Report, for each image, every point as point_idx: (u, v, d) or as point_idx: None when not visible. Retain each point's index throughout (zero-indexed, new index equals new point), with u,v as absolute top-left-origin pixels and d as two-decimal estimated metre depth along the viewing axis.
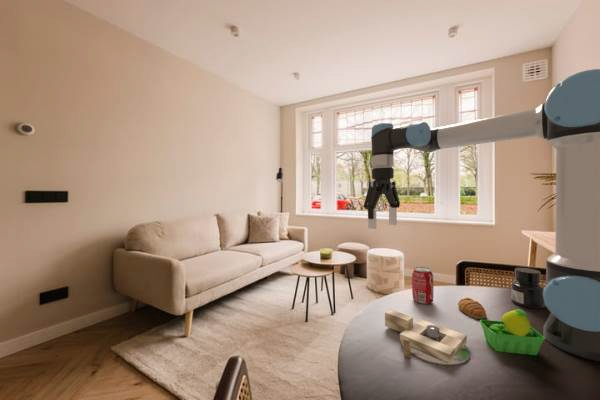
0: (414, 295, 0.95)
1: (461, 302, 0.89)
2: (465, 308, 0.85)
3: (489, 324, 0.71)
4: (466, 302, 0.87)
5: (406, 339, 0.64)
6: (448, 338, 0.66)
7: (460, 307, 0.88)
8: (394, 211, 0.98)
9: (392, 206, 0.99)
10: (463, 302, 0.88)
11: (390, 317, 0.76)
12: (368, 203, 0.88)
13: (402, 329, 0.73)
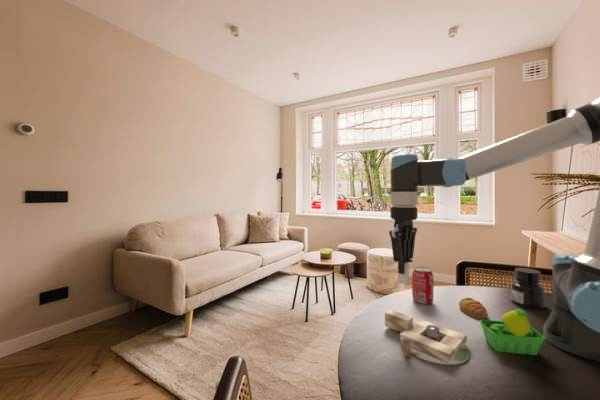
0: (414, 295, 0.95)
1: (462, 302, 0.89)
2: (467, 308, 0.85)
3: (489, 324, 0.71)
4: (467, 302, 0.87)
5: (406, 339, 0.64)
6: (448, 338, 0.66)
7: (461, 307, 0.88)
8: None
9: None
10: (464, 302, 0.88)
11: (390, 317, 0.76)
12: (398, 258, 0.77)
13: (402, 329, 0.73)
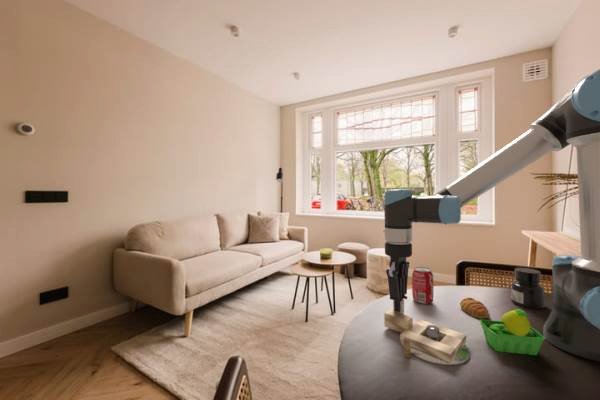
0: (414, 295, 0.95)
1: (463, 302, 0.89)
2: (468, 308, 0.85)
3: (489, 324, 0.71)
4: (469, 302, 0.87)
5: (406, 339, 0.64)
6: (448, 338, 0.66)
7: (463, 307, 0.88)
8: None
9: None
10: (465, 302, 0.88)
11: (390, 317, 0.75)
12: (395, 297, 0.74)
13: (402, 330, 0.73)
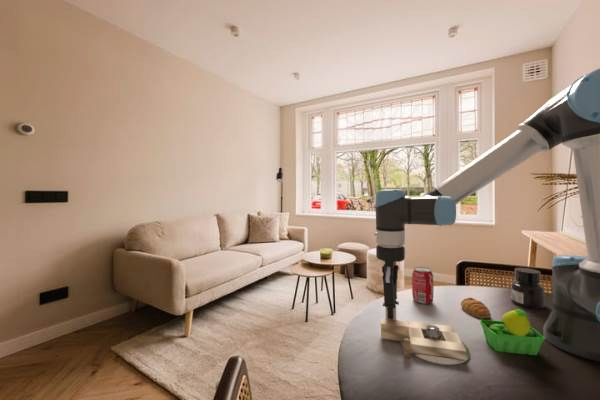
0: (414, 295, 0.95)
1: (464, 302, 0.89)
2: (469, 308, 0.85)
3: (489, 324, 0.71)
4: (470, 302, 0.87)
5: (406, 339, 0.64)
6: (446, 334, 0.68)
7: (463, 307, 0.88)
8: None
9: None
10: (466, 302, 0.88)
11: (388, 327, 0.70)
12: (390, 304, 0.70)
13: (402, 337, 0.69)
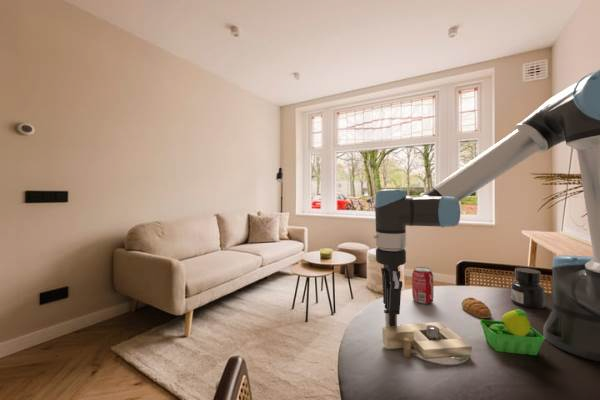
0: (414, 295, 0.95)
1: (465, 302, 0.89)
2: (470, 308, 0.85)
3: (489, 324, 0.71)
4: (471, 302, 0.87)
5: (406, 339, 0.64)
6: (443, 331, 0.69)
7: (464, 307, 0.88)
8: None
9: None
10: (467, 302, 0.88)
11: (394, 336, 0.66)
12: (396, 310, 0.66)
13: None
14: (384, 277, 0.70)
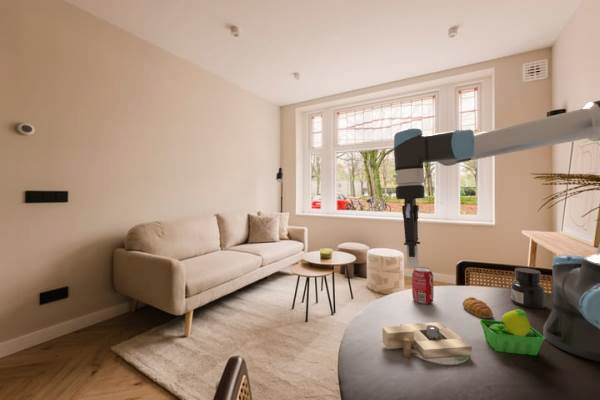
0: (414, 295, 0.95)
1: (466, 302, 0.89)
2: (472, 308, 0.86)
3: (489, 324, 0.71)
4: (472, 302, 0.87)
5: (406, 339, 0.64)
6: (443, 331, 0.70)
7: (466, 307, 0.88)
8: None
9: None
10: (468, 302, 0.88)
11: (394, 336, 0.66)
12: (411, 240, 0.71)
13: None
14: None
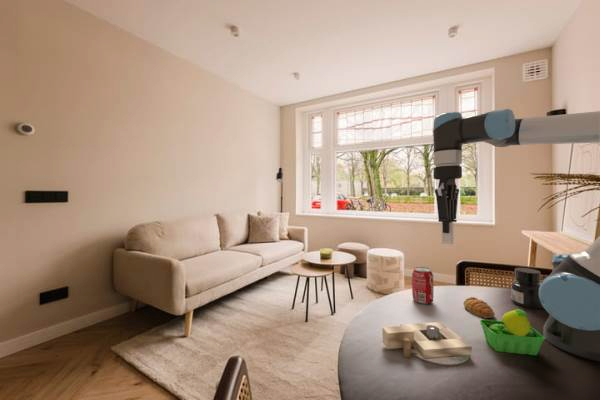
0: (414, 295, 0.95)
1: (467, 302, 0.89)
2: (473, 307, 0.86)
3: (489, 324, 0.71)
4: (473, 302, 0.87)
5: (406, 339, 0.64)
6: (443, 331, 0.70)
7: (467, 307, 0.88)
8: None
9: None
10: (469, 302, 0.88)
11: (394, 336, 0.66)
12: (444, 216, 0.77)
13: None
14: None
